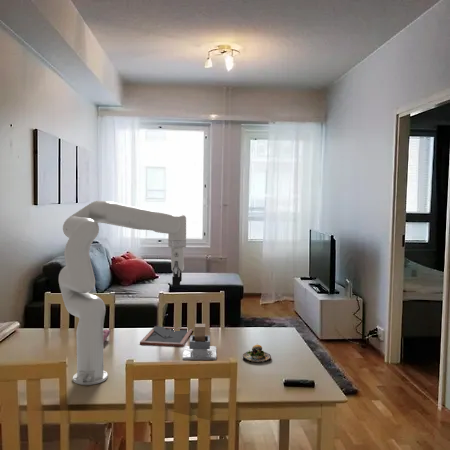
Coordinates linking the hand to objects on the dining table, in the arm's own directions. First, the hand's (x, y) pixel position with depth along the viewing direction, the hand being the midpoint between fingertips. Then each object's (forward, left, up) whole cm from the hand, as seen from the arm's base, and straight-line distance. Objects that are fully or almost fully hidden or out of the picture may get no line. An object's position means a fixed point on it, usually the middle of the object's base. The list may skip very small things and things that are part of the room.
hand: (177, 283), depth 205 cm
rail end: (-1, -10, -26) cm, 28 cm away
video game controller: (+14, +35, -31) cm, 49 cm away
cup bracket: (-1, -10, -30) cm, 32 cm away
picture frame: (+22, +6, -31) cm, 39 cm away
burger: (-7, -34, -31) cm, 46 cm away
